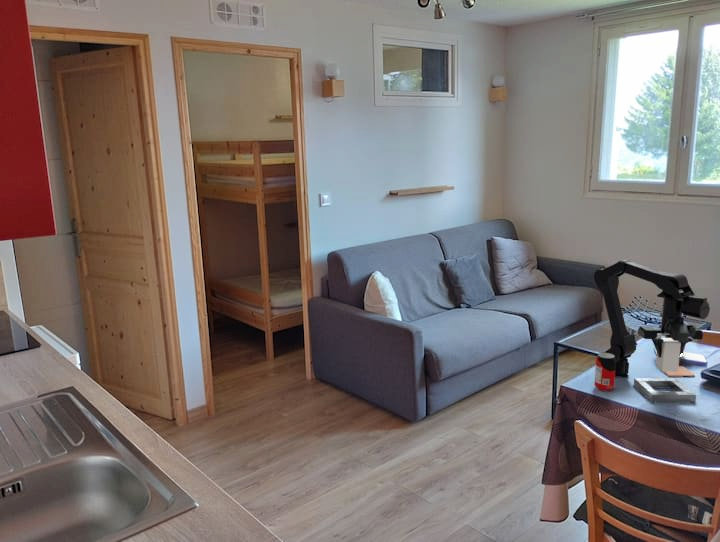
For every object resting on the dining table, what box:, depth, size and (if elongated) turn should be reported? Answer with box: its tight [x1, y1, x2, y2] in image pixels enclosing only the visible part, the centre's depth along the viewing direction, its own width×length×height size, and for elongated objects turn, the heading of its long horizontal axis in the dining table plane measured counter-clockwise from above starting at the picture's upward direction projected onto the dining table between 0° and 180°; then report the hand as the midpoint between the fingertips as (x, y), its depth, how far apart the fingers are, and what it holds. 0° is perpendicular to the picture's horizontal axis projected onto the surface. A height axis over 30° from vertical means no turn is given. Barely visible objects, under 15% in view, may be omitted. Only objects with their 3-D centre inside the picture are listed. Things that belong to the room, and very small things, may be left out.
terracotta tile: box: [661, 365, 696, 378], centre depth 208 cm, size 9×9×1 cm
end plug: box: [655, 337, 681, 372], centre depth 190 cm, size 5×5×10 cm
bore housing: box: [633, 377, 697, 403], centre depth 190 cm, size 14×14×2 cm
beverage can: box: [593, 352, 616, 392], centre depth 194 cm, size 6×6×12 cm
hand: (667, 357), depth 190 cm, fingers closed on end plug, 5 cm apart
